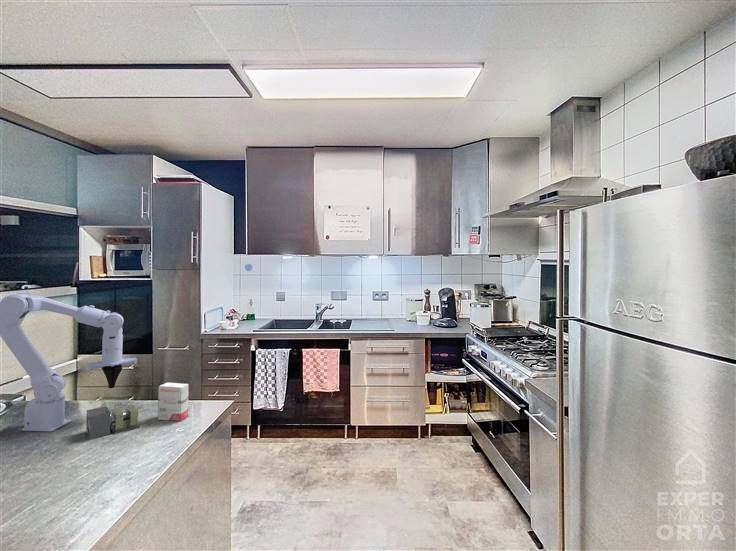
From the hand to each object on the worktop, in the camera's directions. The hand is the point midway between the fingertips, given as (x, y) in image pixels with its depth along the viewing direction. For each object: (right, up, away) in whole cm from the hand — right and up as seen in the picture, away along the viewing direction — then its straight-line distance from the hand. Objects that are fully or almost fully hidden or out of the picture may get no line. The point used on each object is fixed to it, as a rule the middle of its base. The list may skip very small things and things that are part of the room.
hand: (111, 387), depth 124 cm
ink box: (+21, -11, +2) cm, 24 cm away
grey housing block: (+4, -11, -12) cm, 16 cm away
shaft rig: (+7, -11, -9) cm, 15 cm away
